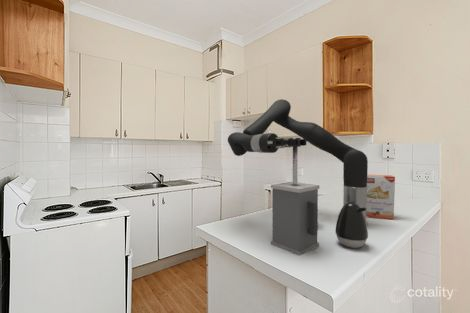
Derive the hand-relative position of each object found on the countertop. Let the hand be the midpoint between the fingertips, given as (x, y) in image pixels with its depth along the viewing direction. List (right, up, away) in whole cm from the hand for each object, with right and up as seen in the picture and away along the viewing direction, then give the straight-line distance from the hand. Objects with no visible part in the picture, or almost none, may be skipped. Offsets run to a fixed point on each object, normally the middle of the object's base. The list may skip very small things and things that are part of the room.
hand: (302, 142), depth 78 cm
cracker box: (+47, -35, +37) cm, 69 cm away
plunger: (-2, -27, +3) cm, 27 cm away
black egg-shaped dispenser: (+18, -36, +3) cm, 41 cm away
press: (-1, -36, +2) cm, 36 cm away
